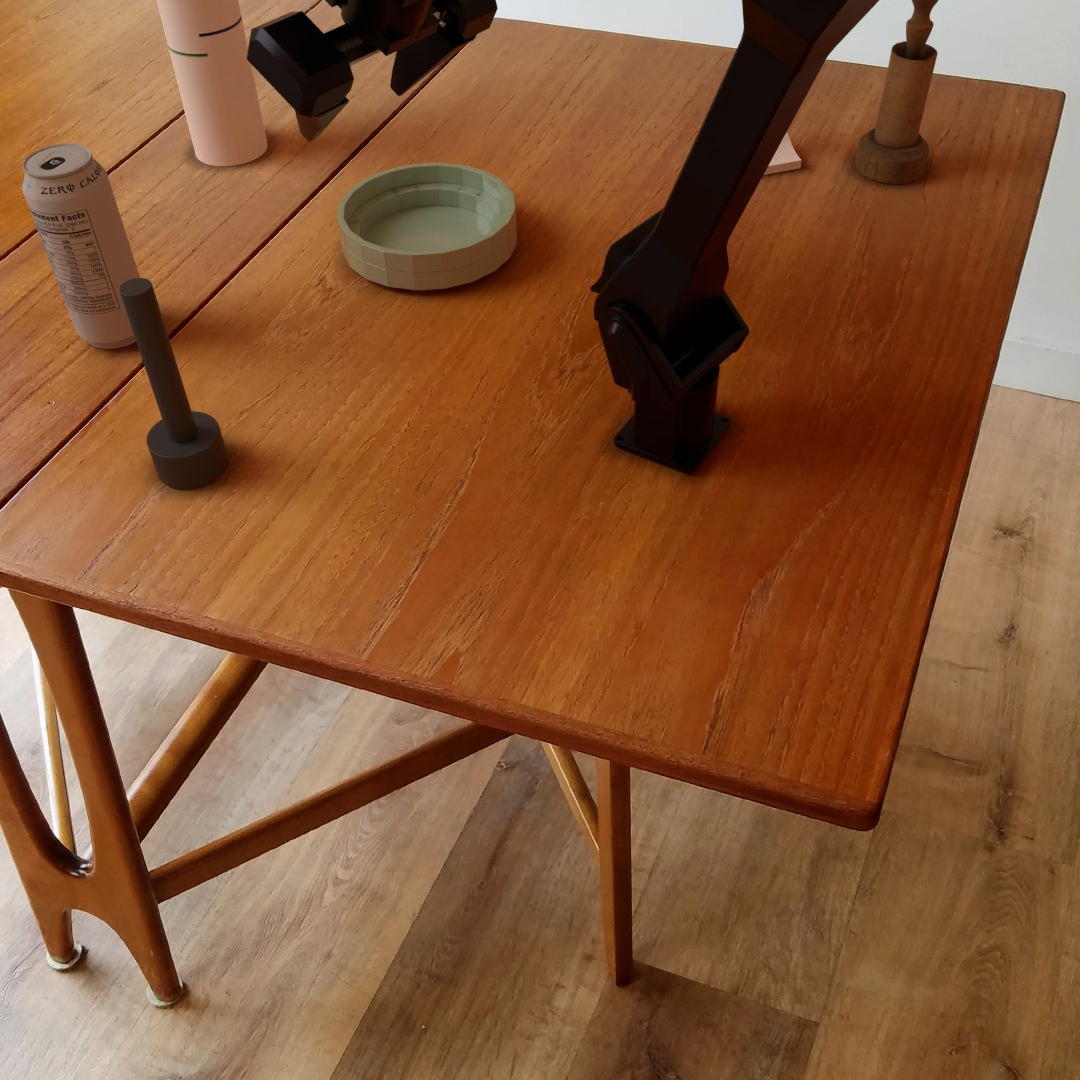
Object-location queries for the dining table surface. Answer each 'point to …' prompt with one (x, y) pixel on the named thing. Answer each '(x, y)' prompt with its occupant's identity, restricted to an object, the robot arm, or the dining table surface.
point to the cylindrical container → (215, 79)
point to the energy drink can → (82, 239)
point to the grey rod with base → (172, 401)
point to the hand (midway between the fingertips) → (352, 113)
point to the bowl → (427, 226)
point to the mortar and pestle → (902, 107)
